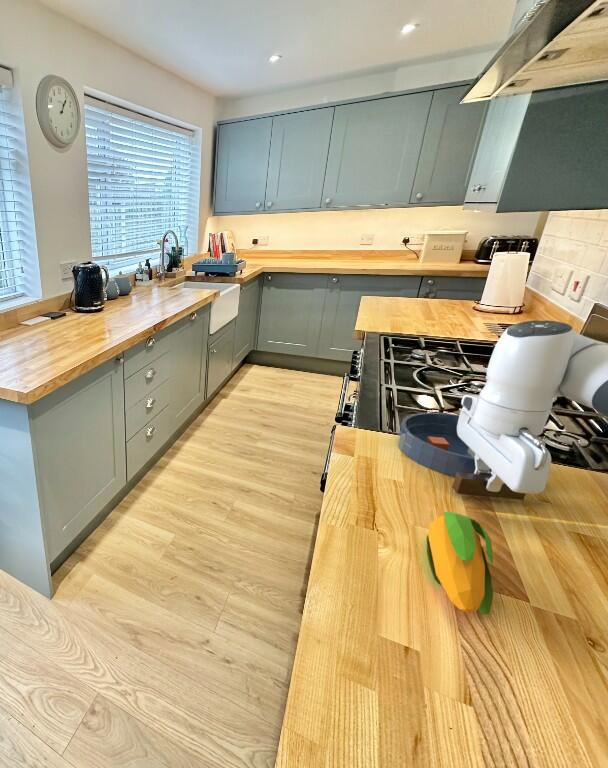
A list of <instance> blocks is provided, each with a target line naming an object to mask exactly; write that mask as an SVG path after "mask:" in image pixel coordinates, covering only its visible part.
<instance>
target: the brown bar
mask: <svg viewBox="0 0 608 768" xmlns="http://www.w3.org/2000/svg"><path fill="white" fill-rule="evenodd" d="M492 476H493V475H484V474H472V473H459V472H457V473H456V476H455V477H454V478H453V479H454V480H453V483H452V486H451V488H452V489H453V491H454V492H455V494H457V495H464V496H465V495H467V496H476V497H488V498H498V499H510V500H521V501H524V500H525V498H526V495H527V493H519V492H514V491H512V490H511V489H510V488H509V487H508V486H507V485H506V484H505V483H504V484H502V486H501V489H500V491H498V492H492V491H488V490H487V489H486V487H485V486H484V483H485V478H491V477H492Z"/></svg>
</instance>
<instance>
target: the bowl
mask: <svg viewBox="0 0 608 768" xmlns="http://www.w3.org/2000/svg"><path fill="white" fill-rule="evenodd" d="M459 415H460V414H454V413H448V412H419V413H414V414H410V415H407V416H406V417H405V418H403V419H402V421H401V424H400V429H399V432H398V436H397V440H396V442H397V447H398V448H399V450H400V451H401V452H402V453H403V454H404V455H405V456H406V457H408V458H409V459H411V460H413V461H414V462H415V463H417V464H419V465H421V466H423V467H425V468H428V469H429V470H432V471H435V472H437V473H440V474H442V475H446V476H449V477H452V478H453V477H454V478H455V476H456V473H457V472H459V473H472V474H474V472H475V469H476V467H475V458H474V457H472V456H471V455H470V454H469V453H468V449H469V447H468V446H467V445H466V444H465V443H464V442H463V441H462V440H461V439H460V438H459V437H458V434H457V424H458V419H459ZM428 436H429V437H440V438H444V439H445V440H446V441H447V442H448V443H449V444H450V445H449V448H448V451H446V450H443V449H440V448H437V447H435V446H433V445H430V444H428V443H426V441H427V437H428ZM491 471H492V470H491V469H490V472H491ZM491 475H492V474H491Z"/></svg>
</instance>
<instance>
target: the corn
mask: <svg viewBox="0 0 608 768" xmlns="http://www.w3.org/2000/svg"><path fill="white" fill-rule="evenodd" d="M480 536H481V537H480ZM481 538H482V539H483V540H484V541H485V550H486V551H485V550H484V547H483V546H482V541H481ZM485 552H486V554H485ZM426 554H427V560H428V564H429V568H430V570H431V574H432V576H433V579H434V581H435V582H436V583H437V584H438V585H440V586H441V587H442V588H443V590H444V591H445V593H446V595H447V597H448V599H449V600H450V602H451V603H452V604H453V605H454V606H455V607H456V608H457V609H459V610H460V611H461V612H463V613H467V614H472V613H473V612H476V611H479V612H480V614H482V615H485V616H487V615H489V613H490V611H491V608H492V604H493V597H494V591H493V582H492V575H491V572H490V568H489V565H488V561H490V564H491V565H493V564H494V557H493V556H494V553H493V545H492V539H491V537H490V536H489V533H488V532H487V531H486V530H485V528H484V527H483V526H482V525H481V524H480V523H479V522H478V521H476V520H475V519H472V518H470V517H468V516H467V515H463V514H460V513H457V512H453V511H444V512H443V515H440V516H439V517H437V518H435V519H434V520H433V521H432V522H431V523H429V526H428V532H427V536H426ZM486 556H487V557H486ZM487 558H488V561H487Z"/></svg>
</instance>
